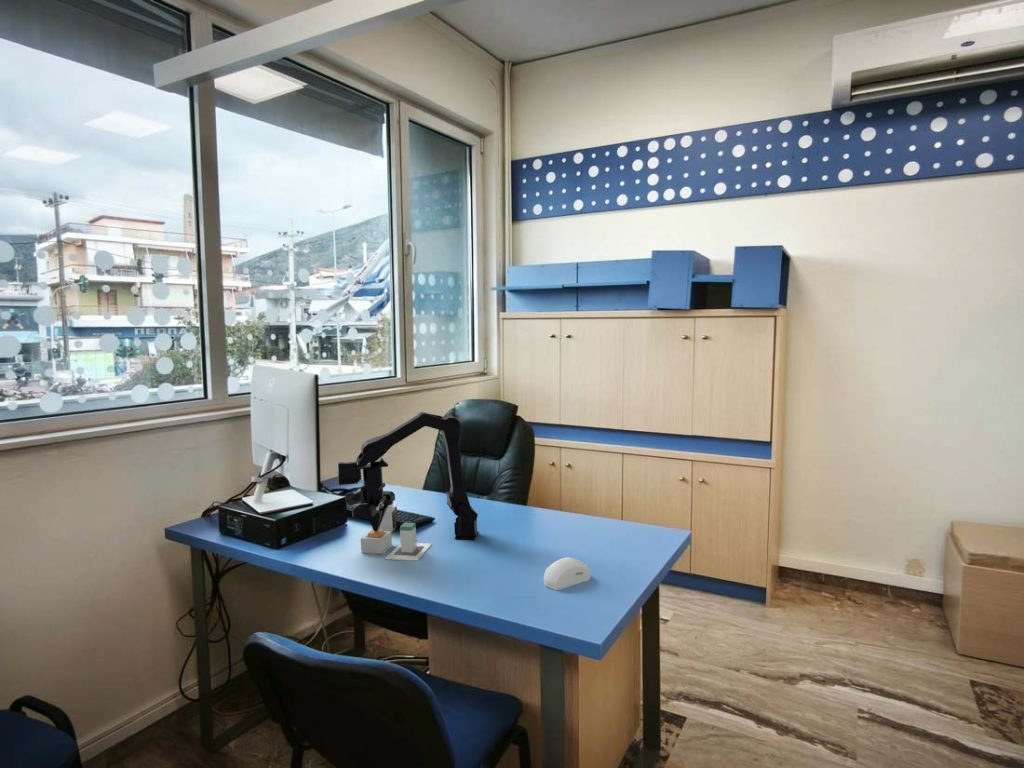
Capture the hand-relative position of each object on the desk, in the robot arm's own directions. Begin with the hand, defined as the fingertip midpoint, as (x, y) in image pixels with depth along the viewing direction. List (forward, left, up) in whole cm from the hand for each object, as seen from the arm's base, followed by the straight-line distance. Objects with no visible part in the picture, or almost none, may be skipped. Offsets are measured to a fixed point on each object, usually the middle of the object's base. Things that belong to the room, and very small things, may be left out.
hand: (376, 530), depth 189 cm
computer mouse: (-61, +15, -6) cm, 63 cm away
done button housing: (0, 0, -6) cm, 6 cm away
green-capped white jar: (-11, +1, -5) cm, 12 cm away
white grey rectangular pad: (-11, +1, -6) cm, 12 cm away
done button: (0, 0, -3) cm, 3 cm away
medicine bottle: (+5, -18, -6) cm, 20 cm away
